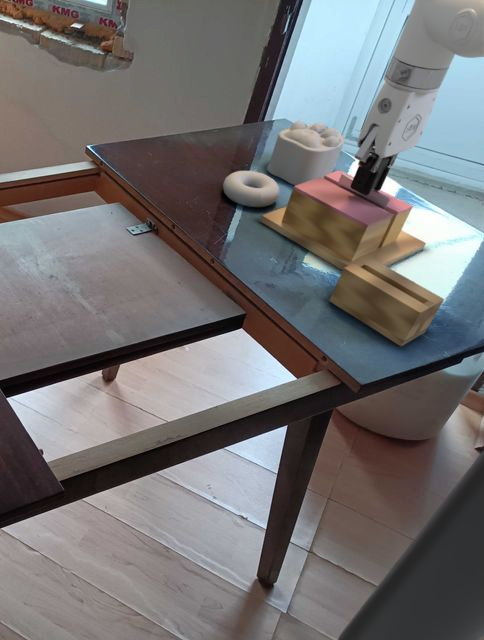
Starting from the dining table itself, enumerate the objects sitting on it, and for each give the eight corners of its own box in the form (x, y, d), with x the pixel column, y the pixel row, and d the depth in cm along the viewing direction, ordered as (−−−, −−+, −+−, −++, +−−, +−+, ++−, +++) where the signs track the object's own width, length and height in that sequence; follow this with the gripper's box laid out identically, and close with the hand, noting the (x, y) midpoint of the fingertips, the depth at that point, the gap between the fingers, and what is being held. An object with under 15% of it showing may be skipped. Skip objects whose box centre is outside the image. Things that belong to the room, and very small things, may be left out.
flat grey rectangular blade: (373, 239, 113) (408, 167, 105) (365, 243, 112) (400, 170, 104) (328, 214, 119) (358, 143, 110) (320, 217, 118) (350, 146, 109)
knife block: (424, 332, 98) (444, 299, 94) (400, 346, 95) (420, 312, 91) (353, 289, 105) (368, 256, 101) (328, 301, 102) (343, 267, 98)
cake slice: (395, 241, 114) (413, 205, 110) (381, 247, 112) (398, 212, 108) (326, 203, 122) (339, 169, 118) (311, 209, 120) (324, 175, 116)
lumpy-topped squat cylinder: (260, 168, 134) (273, 125, 129) (300, 153, 141) (314, 112, 135) (304, 190, 128) (320, 146, 123) (344, 174, 135) (361, 131, 129)
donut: (253, 181, 130) (210, 187, 127) (259, 164, 128) (215, 170, 125) (287, 207, 123) (242, 214, 120) (293, 189, 121) (247, 196, 118)
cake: (423, 249, 115) (444, 208, 110) (359, 280, 107) (379, 237, 102) (324, 197, 127) (339, 157, 122) (259, 221, 119) (273, 180, 114)
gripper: (407, 91, 92) (354, 211, 104) (469, 73, 100) (413, 188, 112) (359, 73, 97) (314, 190, 109) (422, 57, 104) (373, 169, 116)
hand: (365, 188), depth 110 cm, fingers closed on flat grey rectangular blade, 2 cm apart
